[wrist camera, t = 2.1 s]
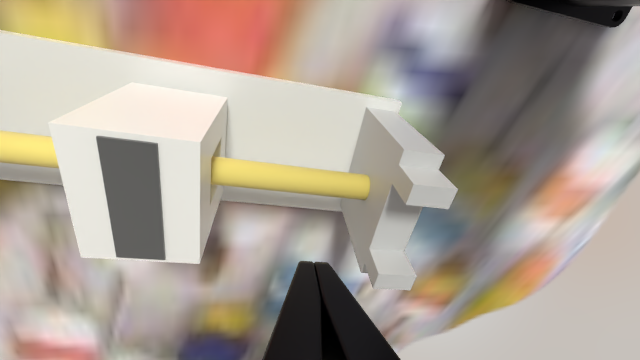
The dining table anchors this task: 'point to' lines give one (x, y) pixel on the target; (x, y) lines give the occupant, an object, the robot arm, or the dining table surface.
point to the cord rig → (245, 140)
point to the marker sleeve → (142, 172)
